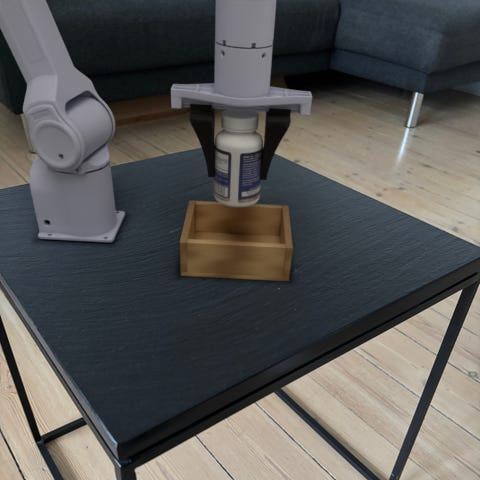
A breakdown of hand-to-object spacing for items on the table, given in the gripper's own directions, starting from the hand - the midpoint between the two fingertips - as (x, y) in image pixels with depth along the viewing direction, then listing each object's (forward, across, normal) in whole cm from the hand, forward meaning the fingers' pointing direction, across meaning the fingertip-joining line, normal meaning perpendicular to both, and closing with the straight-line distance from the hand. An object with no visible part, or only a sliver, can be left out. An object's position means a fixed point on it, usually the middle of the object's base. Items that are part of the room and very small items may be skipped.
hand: (237, 175), depth 59 cm
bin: (+10, 0, +1) cm, 10 cm away
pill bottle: (+3, 0, 0) cm, 3 cm away
